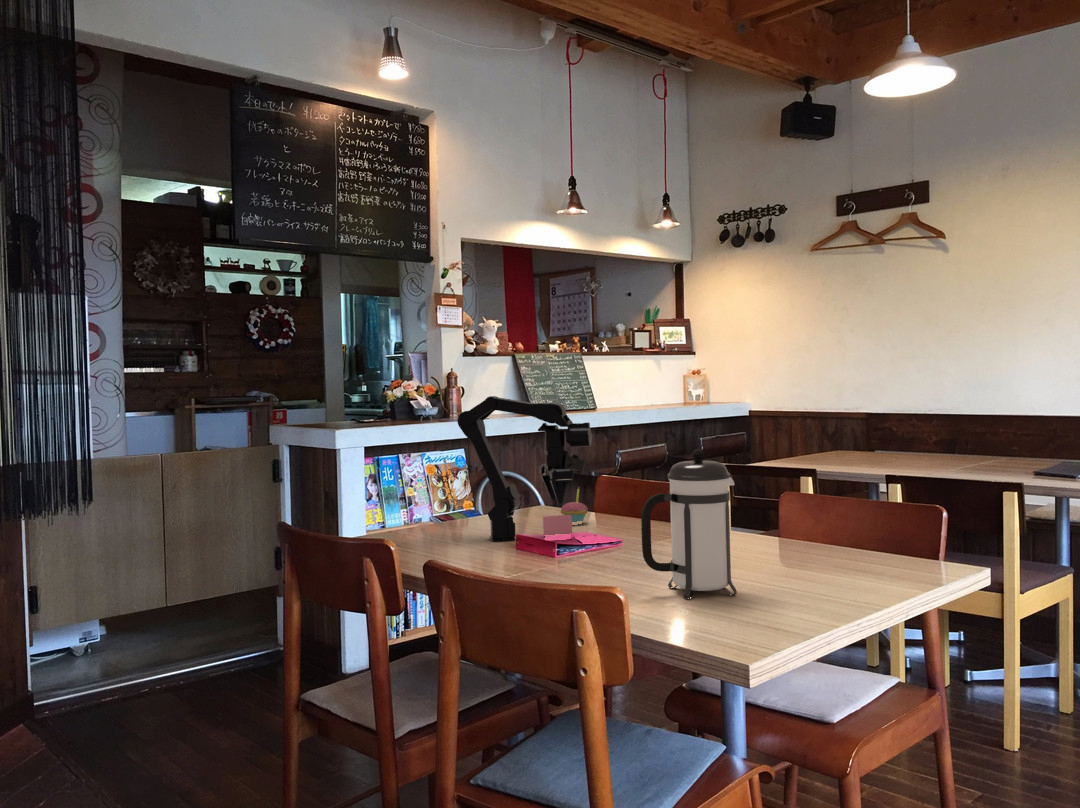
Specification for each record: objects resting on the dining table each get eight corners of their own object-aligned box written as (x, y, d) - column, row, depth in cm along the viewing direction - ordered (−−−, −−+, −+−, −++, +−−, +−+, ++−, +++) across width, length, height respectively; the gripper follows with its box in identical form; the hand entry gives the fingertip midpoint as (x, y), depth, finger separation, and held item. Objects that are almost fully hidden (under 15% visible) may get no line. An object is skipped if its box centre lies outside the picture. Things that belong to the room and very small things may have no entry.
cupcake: (592, 523, 269) (591, 485, 268) (579, 527, 261) (578, 488, 261) (569, 521, 273) (568, 484, 273) (556, 525, 266) (554, 487, 266)
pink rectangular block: (544, 541, 239) (544, 517, 239) (543, 540, 241) (543, 516, 240) (572, 540, 241) (571, 515, 241) (571, 539, 242) (570, 514, 242)
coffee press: (683, 579, 188) (680, 445, 187) (750, 589, 177) (747, 446, 177) (641, 596, 174) (637, 451, 174) (711, 607, 164) (707, 453, 163)
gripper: (591, 448, 233) (592, 504, 233) (574, 443, 251) (576, 496, 251) (551, 449, 230) (553, 506, 231) (538, 445, 249) (539, 498, 249)
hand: (556, 501), depth 241 cm, fingers open, 9 cm apart
